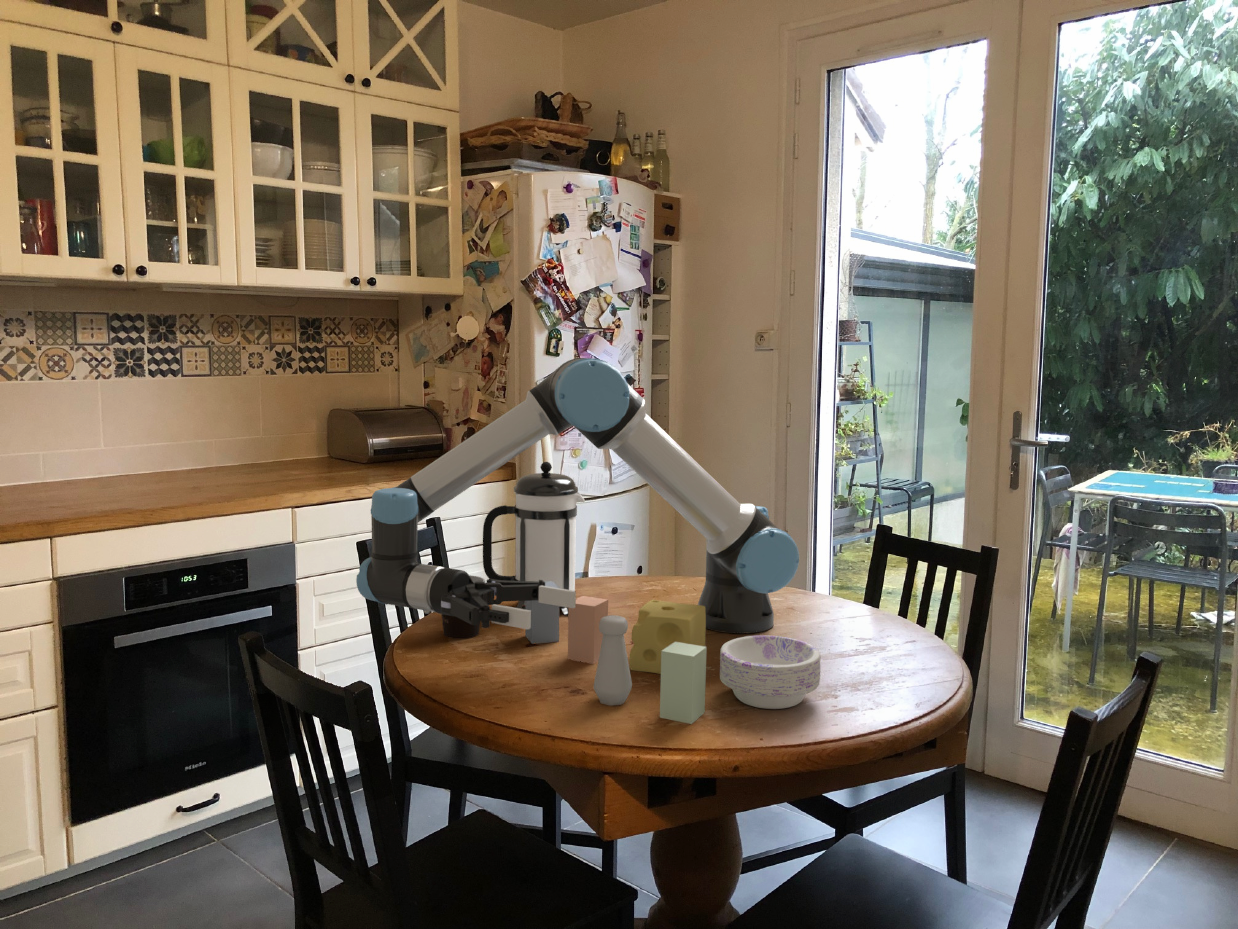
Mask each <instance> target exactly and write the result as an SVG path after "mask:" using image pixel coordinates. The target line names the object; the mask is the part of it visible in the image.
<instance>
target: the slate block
mask: <svg viewBox="0 0 1238 929" xmlns="http://www.w3.org/2000/svg"><path fill="white" fill-rule="evenodd" d="M545 586H548V587H554V588H559V587H558V586H557V585H556V584H555V583H554V582H553V581H546V582H545ZM525 606H526V610H531V628H530V629H524V630H525V632H524V633H525V634H524V635H525V637H526V638H527V640H528V641H529V642H530V643H531V644H533V645H534V643H537V644H546V643H547V644H548V643H557V642H560V608H559V606H556V605H550V604H544V603H538V600H532V601H526V605H525Z"/></svg>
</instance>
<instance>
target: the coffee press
mask: <svg viewBox="0 0 1238 929" xmlns="http://www.w3.org/2000/svg"><path fill="white" fill-rule="evenodd" d="M540 469H541V472H538V473H531V474H526V475H523V476H521V477H520V478H519V479H518V480H517V481H516V484H515V486H513V492H514V494H515V505H514V506H512V505H506V504H505V505H500V506H499V505H498V506H495V507H494V508H493V509H491V510H490V511H489V512H488V513H487V515H486V517H485V518H484V522H483V526H482V565H483V571H484V573H485V576H486V577H487V579H494V580H507V581H539V580H543V581H544V582H546V581H553V582H554V583H555V584H556V585H557V586H558V587H559V588H560V589H567V590H573V591H576V530H577V529H576V520H577V519H576V518H577V517H576V516H577V514H578V506H577V503H584V502H586V500H585V498H584V497H583V496H582V494H581V493H580V492H579V488H578V486H577V485H576V482H575V480H574V479H573V478H571V476H569V475H565V474H561V473H554V472H553V473H551V470H552V469H553V467H552V464H551V463H550V462H548V461H543V462H542V463H541V464H540ZM504 515H514V516H515V575H501V574H498V573H497V572H496V571H495V570H494V568H493V559H492V558H493V554H492V552H493V549H492V547H493V545H492V544H493V541H492V540H493V535H492V534H493V525H494V524H493V523H494V521H495V520H496V519H497V517H499V516H500V517H501V516H504ZM515 608H519V609H525V610H526V601H518V603H517V605H516V607H515ZM559 610H561V612H562V614H563V615H564V616H568V607H562V606H559Z"/></svg>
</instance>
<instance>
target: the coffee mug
mask: <svg viewBox="0 0 1238 929" xmlns="http://www.w3.org/2000/svg"><path fill="white" fill-rule="evenodd" d="M469 576H470V577H471V580H472V581H473V583H474V584H475V582H479V581H483V582H485V583H486V579H485V578H484V577H481V576H477V575H470V574H469ZM440 615H441V622H442V630H443V635H444V636H445V638H450V639H455V640H463V639H464V640H465V639H471V638H475V637H477V636H478V635H479V634H480V626H481V621H479V625H471V624H469V623H467V622H465V621H463V620H462V619H460V618H458V617H456V616H450V615H444V614H440Z"/></svg>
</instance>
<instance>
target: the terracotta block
mask: <svg viewBox="0 0 1238 929" xmlns="http://www.w3.org/2000/svg"><path fill="white" fill-rule="evenodd" d="M605 616H609V599H606V598H599V597H595V596H594V597H593V596H587V595H581V596H580V597H579V596H578V597H577V598H576V604H575V608H568V615H567V618H568V622H567V623H568V625H567V626H568V627H567V630H568V632H567V634H568V635H567V660H569V659H571V660H570V661H575V662H580V661H581V663H585V662H587V663H586V664H591V665H595V664H596V663H598V661H599V655H600V650H601V644H602V638H603V634H602V633H601V632H600V630H599V623H600V620H601V619H602V618H603V617H605Z"/></svg>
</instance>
